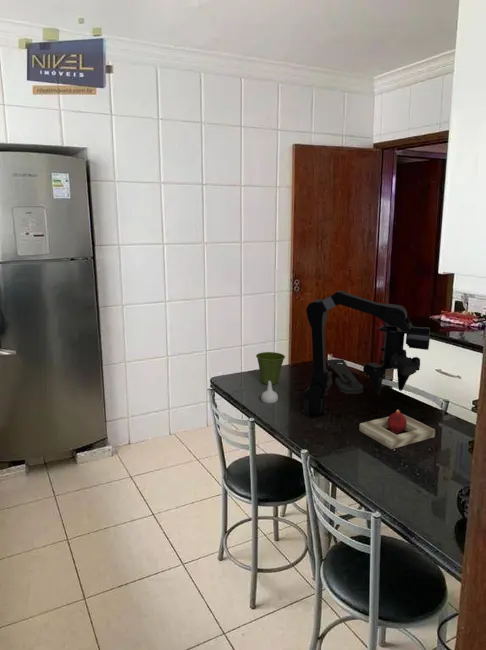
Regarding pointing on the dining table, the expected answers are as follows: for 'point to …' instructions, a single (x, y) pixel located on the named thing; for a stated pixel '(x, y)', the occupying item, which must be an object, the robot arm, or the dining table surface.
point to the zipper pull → (345, 378)
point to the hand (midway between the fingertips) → (389, 392)
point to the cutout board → (391, 440)
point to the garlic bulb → (269, 395)
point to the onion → (396, 422)
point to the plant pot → (270, 366)
